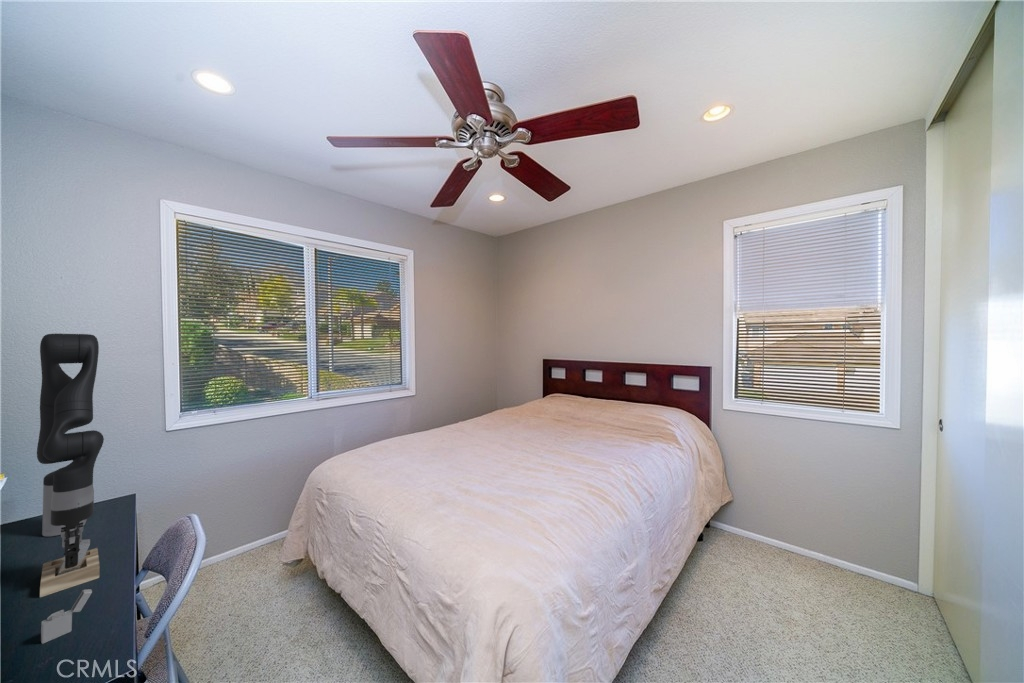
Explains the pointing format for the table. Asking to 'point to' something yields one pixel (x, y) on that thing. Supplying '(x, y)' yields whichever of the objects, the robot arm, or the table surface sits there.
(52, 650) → the table surface
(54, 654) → the table surface
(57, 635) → the lighter
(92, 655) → the table surface
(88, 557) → the holder
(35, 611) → the table surface
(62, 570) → the grey rectangular block
